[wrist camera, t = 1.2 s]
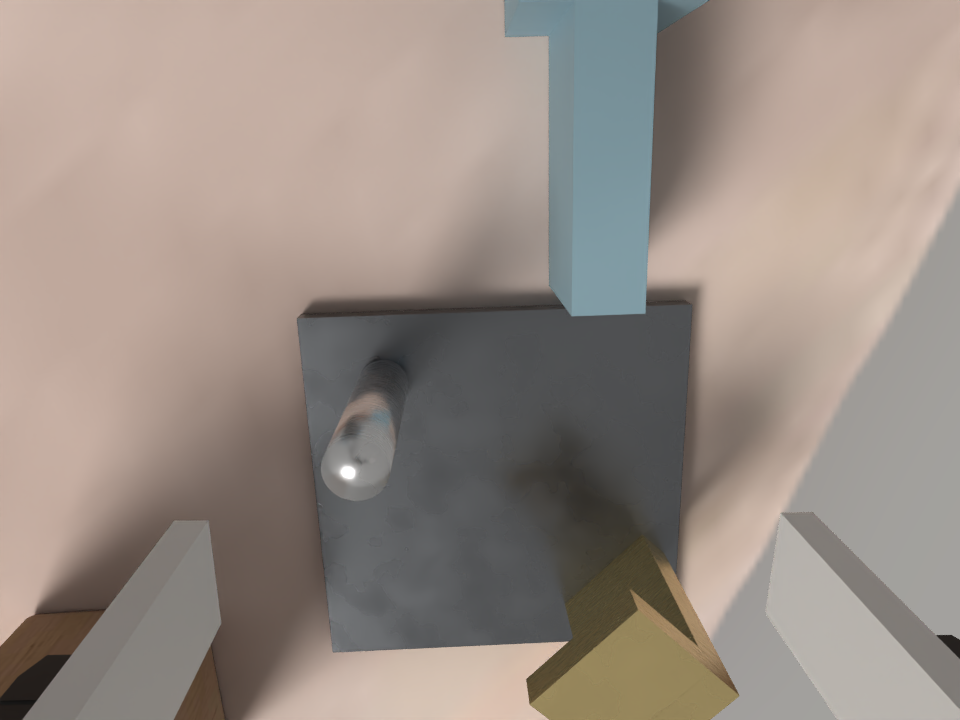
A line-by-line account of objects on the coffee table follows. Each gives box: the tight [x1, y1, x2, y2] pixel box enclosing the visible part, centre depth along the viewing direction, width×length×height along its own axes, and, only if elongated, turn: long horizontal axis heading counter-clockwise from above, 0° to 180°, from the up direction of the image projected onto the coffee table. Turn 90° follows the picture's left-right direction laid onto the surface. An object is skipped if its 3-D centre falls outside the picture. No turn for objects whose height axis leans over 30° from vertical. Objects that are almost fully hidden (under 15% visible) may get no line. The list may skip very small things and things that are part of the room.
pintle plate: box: [297, 300, 739, 720], centre depth 32 cm, size 20×20×11 cm
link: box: [504, 0, 709, 316], centre depth 28 cm, size 18×7×7 cm, turn 2°
